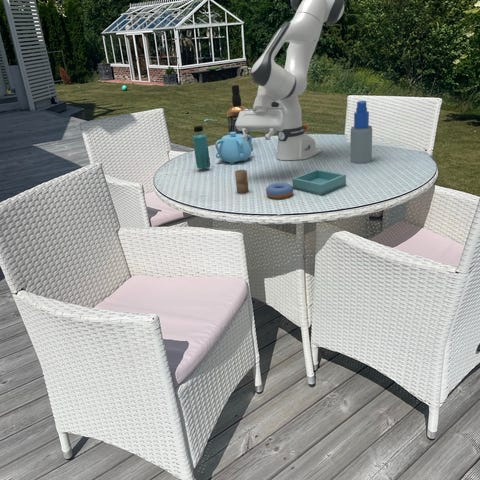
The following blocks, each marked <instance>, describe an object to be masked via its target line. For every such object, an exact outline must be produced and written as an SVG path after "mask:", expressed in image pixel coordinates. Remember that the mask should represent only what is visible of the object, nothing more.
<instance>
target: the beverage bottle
mask: <svg viewBox="0 0 480 480" xmlns="http://www.w3.org/2000/svg"><path fill="white" fill-rule="evenodd" d="M203 131H204V127H203V125H197V126H193V132H194V135H193V136H192V141H193V147H194V156H195V157H194V158H195V164H196V167H197V169H200V170H203V169H209V168H210V167H211V158H210V152H209V145H208V137H207V134H206V133H203Z"/></svg>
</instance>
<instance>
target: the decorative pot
mask: <svg viewBox="0 0 480 480" xmlns="http://www.w3.org/2000/svg"><path fill="white" fill-rule="evenodd" d="M229 134H230V135H229ZM248 137H249V143H248V141H247V140H244V139H243V135H241V134H236V132H230V133H229V132H228V134H227V135H224V136H222V137H221V139H218V140H216V142H215V144H214V146H215V149H216V151H217V152H216V154H215V157H216V158H217V159H221V160H222V161H224V162H227V163H229V164H230V163H231V165H232V163H233V164H235V163H237V162H246V161H247V160H248V159H249V158H250V157H251V155H252V152H253V151H254V147H253V145H252V146H251V143H252V144H253V138H252V136H251V134H250V135H248ZM218 144H219V145H218Z"/></svg>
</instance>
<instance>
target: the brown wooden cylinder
mask: <svg viewBox="0 0 480 480" xmlns="http://www.w3.org/2000/svg"><path fill="white" fill-rule="evenodd" d="M234 175H235V176H234V177H235V186H236V193H237V194H240V195H241V194H246V193H247V194H248V193H249V191H250V190H249V183H248V182H249V181H248V180H249V179H248V171H247V170H246V169H237V170H235V171H234Z"/></svg>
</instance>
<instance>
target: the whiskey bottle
mask: <svg viewBox="0 0 480 480" xmlns="http://www.w3.org/2000/svg"><path fill="white" fill-rule="evenodd" d="M231 93H232V96H231V102H232V106H231V107H230V108H229V109H228V110H227V111H226V116H227V120H228V121H227V122H228V135H230V134H229V133H230V132H236V134H241V135H244V134H243V131H239V130H238V129H237V128H236V126H235V123H236V120H237V118H238V116H239V112H240V111H242V110H243V109H249V108H248V107H246V106H244V105H242V97H241V95H240V94H241V93H240V85H239V84H234V85H231ZM246 134H247V135H250V136H251V131H247V133H246ZM247 141H248V143H249V137H248V140H247ZM252 144H253V142H252V143H251V146H252V147H253V145H252Z"/></svg>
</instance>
